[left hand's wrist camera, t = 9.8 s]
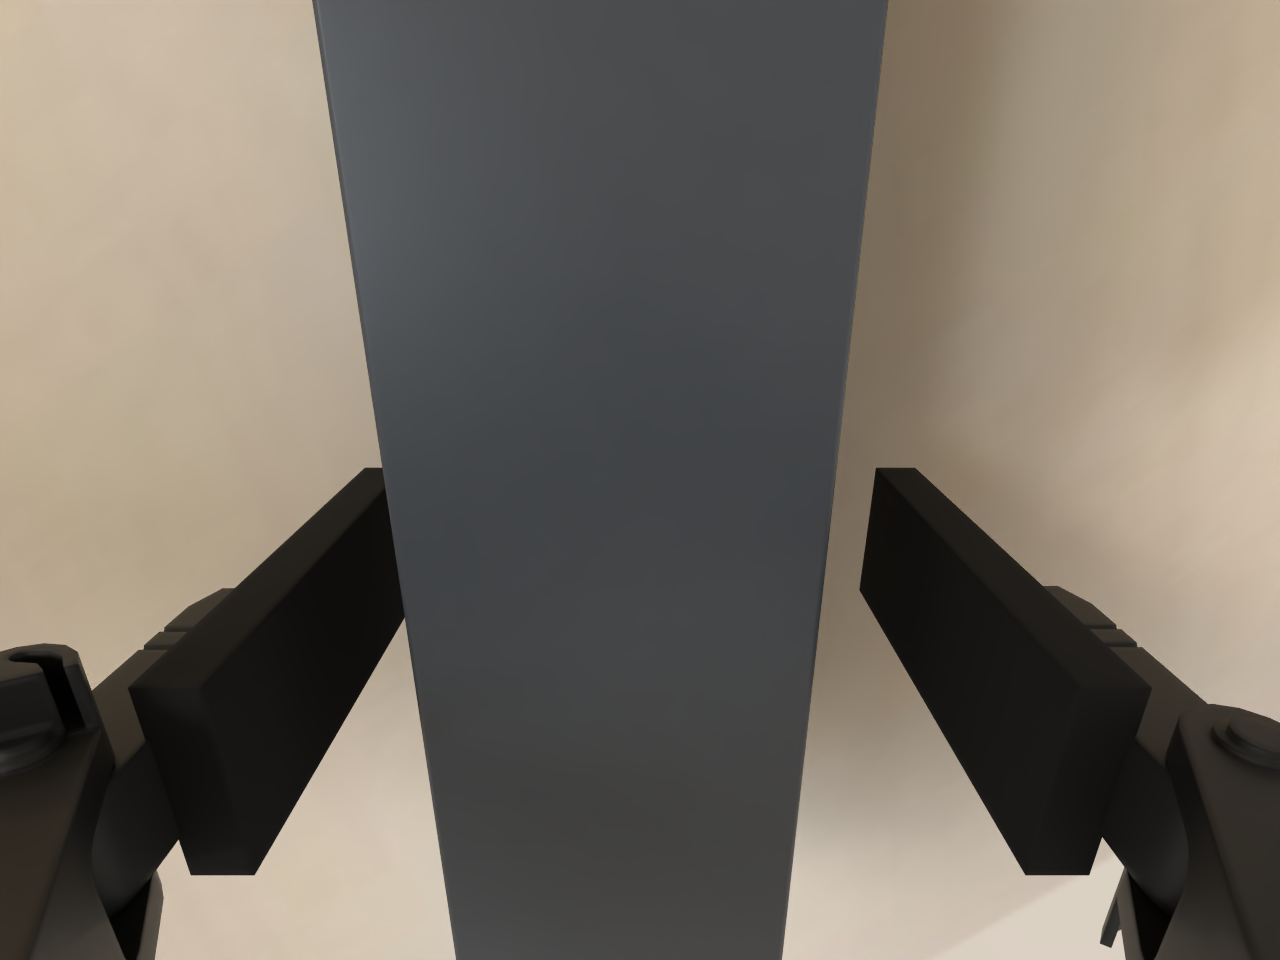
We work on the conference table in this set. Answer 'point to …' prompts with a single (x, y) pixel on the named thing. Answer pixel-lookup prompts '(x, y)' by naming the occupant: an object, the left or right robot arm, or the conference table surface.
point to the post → (608, 435)
